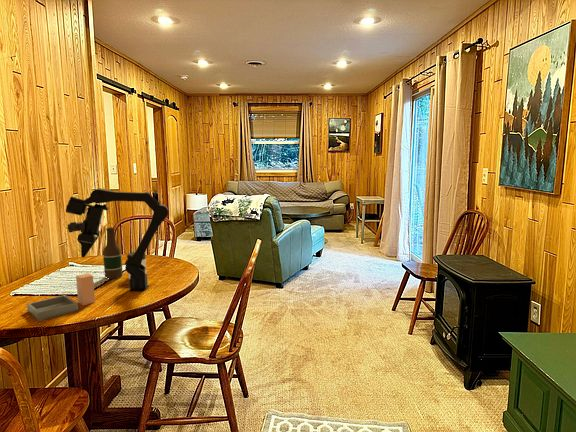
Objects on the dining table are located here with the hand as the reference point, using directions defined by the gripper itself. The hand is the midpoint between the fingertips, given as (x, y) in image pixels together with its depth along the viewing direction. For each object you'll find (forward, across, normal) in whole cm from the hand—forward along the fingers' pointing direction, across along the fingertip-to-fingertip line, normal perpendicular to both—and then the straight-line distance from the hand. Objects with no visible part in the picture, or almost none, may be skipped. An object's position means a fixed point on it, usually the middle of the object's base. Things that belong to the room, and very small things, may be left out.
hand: (84, 254), depth 164 cm
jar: (+11, -17, +23) cm, 31 cm away
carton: (+16, +10, +6) cm, 20 cm away
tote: (+19, +16, -4) cm, 25 cm away
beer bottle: (+14, -23, +13) cm, 29 cm away
